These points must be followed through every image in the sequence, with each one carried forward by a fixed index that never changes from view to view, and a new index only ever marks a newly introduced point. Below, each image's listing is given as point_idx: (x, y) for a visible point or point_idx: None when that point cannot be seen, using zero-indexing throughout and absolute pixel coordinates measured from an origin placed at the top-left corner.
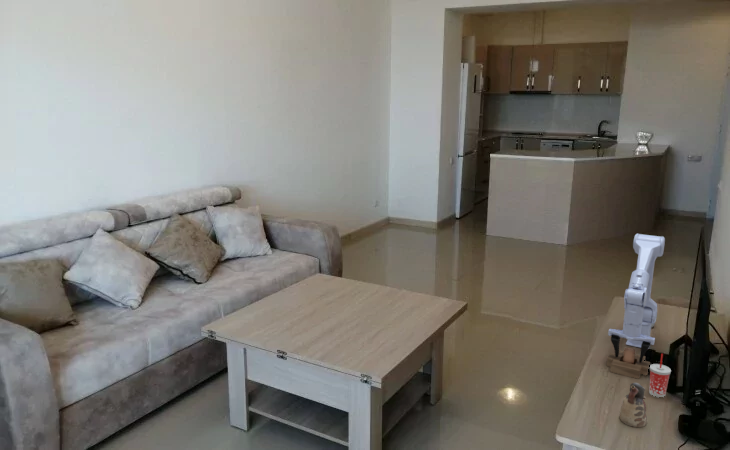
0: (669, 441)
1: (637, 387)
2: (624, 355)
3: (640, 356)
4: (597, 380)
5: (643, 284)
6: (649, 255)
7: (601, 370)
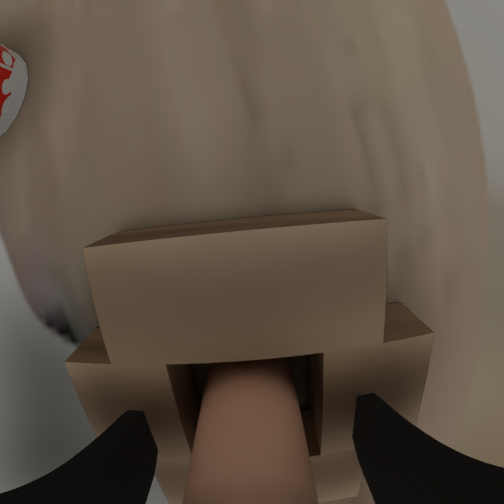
0: None
1: None
2: (293, 429)
3: (109, 447)
4: (380, 6)
5: None
6: None
7: (417, 194)
